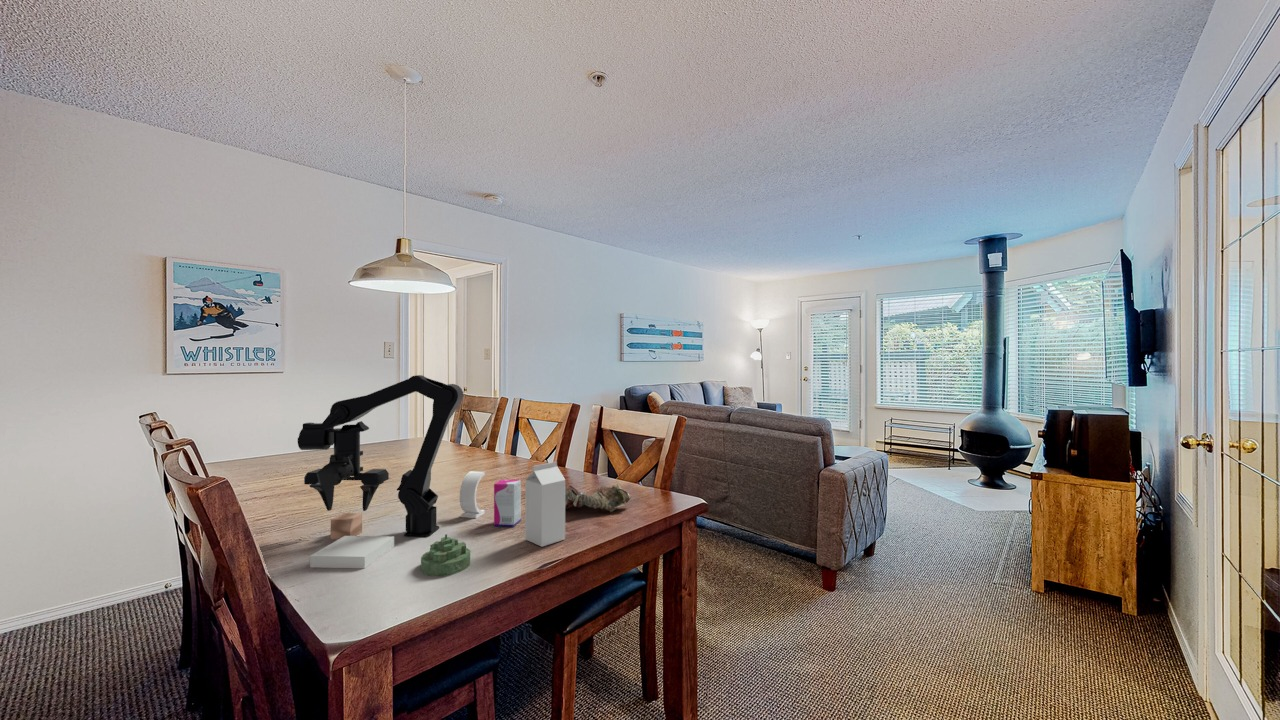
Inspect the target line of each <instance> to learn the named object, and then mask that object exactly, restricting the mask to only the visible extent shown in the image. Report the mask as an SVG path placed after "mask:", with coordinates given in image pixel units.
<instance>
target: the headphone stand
mask: <svg viewBox="0 0 1280 720" xmlns="http://www.w3.org/2000/svg"><path fill="white" fill-rule="evenodd" d="M485 475H486V471H477V470H476V471H475V470H470V471H468V472H467V474H465V476H464V478H463V480H462V482H461V485H460V488H459V489H460V490H459V504H460V508H461V510H462V511H463V513H462V514H461V518H467V519H477V518H479V517H481V516H482V515H484V514H486V510H485V509H480V508H479V506H478V504H477V492H478V491H477V489H478V486H479V483H480V481H481V479H482V478H483V477H484V476H485Z"/></svg>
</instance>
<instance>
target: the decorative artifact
mask: <svg viewBox="0 0 1280 720" xmlns="http://www.w3.org/2000/svg"><path fill="white" fill-rule="evenodd" d="M429 545H430V547H429V550H428V551H427V552H425V553H424V554H422V555H421V557H420V571H421V573H422V574H423V575H426V576H431V577H444V576H451V575H453V574H458V573H460V572H463V571H465V570H466V569H468V568H469V567H470V566H471V550H470V548H468V547H467V544H466V542H464V541H462V542H459V540H458V539H457V538H454V537H448V534H444V537H441V539H440V541H438V540H437V541H435V542H434V543H432V544H429Z"/></svg>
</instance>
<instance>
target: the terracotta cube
mask: <svg viewBox="0 0 1280 720" xmlns="http://www.w3.org/2000/svg"><path fill="white" fill-rule="evenodd" d="M362 533H363V513H361V512H360V513H359V512H358V513H356V512H355V513H353V512H343V513H341V514H339V515H337V516H334V517H333V518H331V519H330V540H338V539H340V538H342V537H344V536H360V534H362Z"/></svg>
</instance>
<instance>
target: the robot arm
mask: <svg viewBox="0 0 1280 720" xmlns="http://www.w3.org/2000/svg"><path fill="white" fill-rule="evenodd" d="M415 392H416V393H419V394H421V395H422V396H425V397H426V398H428V399H431V400H433V402H432V417H431V420H430V423H429V425H428V429H427V431H426V434H425V436H424V440H423V441H422V445H421V447H420V450H419V453H418V456H417V458H416V460H415V463H414V466H413V468H412V469H409V470H408V471H406V472H405V473H404V474H402V476H401V478H400V479H401V481H400V483H399V486H398V487H397V488H396V491H398V492H397V498H398V500H399V502H400V503H401V504H402V505H403V506H404V509H405V511H406V513H407V514H406V515H405V533H403V536H405V537H430V536H431V535H432V534H434V533H435V532H436V531H437V530H438V529H440V526H439V525H437V506H434V505H435V504H436V503H437V500H438V498H439V495H438V494H437V493H435V492H434V491H433V490H432V489H431V488H430V486H431V481H432V478H431V477H432V467H433V465H434V462H435V459H436V456H437V454H438V451H439V450H440V449H439V448H440V446H441V443H442V441H443V438H444V434H445V432H446V430H447V427H448V423H449V422H450V419H451V418H452V416H454V414H455V412H456V410H457V409H458V408H459V406H460V404H461V402H462V400H463V399H464V391H463V389H462V388H461V386H459V385H458V384H454V383H449V384H445V383H443V382H441V381H437V380H434V379H432V378H429V377H426V376H425V375H422V374H418V375H417V374H415V375H412V376H410V377H409V378H407V379H405V380H402V381H399V382H396V383H394V384H392V385H390V386H386V387H384V388H382V389H379V390H377V391H374V392H371V393H369V394H367V395H363V396H358V397H353V398H349V399H343V400H338V401H336V402H334V403H333V404H332V405H331V407H330V411H329V414H328V415H327V417H326V418H325V419H324V421H323V422H322V423H321V422H320V423H318V422H316V423H315V422H305V423H303V424H302V428H301V430H300V431H299V434H298V437H297V446H298V448H299V450H301V451H319V450H321V451H323V450H329V449H330V448H331V446H333V454H330V457H329V462H328V463H326V464H325V465H324V466H323V467H322V468H316V469H314V470H311V471H308V472H307V473H306V474H305V475H304V478H303V484H304V485H309V488H313V489H314V490H316V491H317V492H318V494H319V495H320V497H321V499H322V501H323V504H324V506H325V509H326V510H327V511H331V510H332V509H333V504H334V496H335V495H334V494H335V486H337V485H339V484H341V483H342V481H360V483H362V484H363V485H360V487H359V488H360V489H361V491H362V511H363V512H366V511H367V510H368V508H369V506H370V504H371V502H372V500H373V498H374V495H375V493H376V491H377V489H378V488H379V486H380V485H382V484H384V483H385V482H386V481H388V480H389V479H390V477H389V476H390V475H389V474H390V473H389V472H388V470H387V469H386V468H372V469H370V470H368V471H365V472H363V471H364V466H361V456H363V455H364V450H361V433H362V432H365V431H368V430H370V427H369V426H367V425H366V424H365V423H364V422H363V421H358V420H359V419H361V418H362V417H364V416H366V415H367V414H369V413H370V412H371V411H373V410H374V409H377V408H378V407H381V406H383V405H385V404H386V405H387V404H389V403H390V402H394V401H395V400H398V399H400V398H403V397H406V396H408V395H410V394H413V393H415ZM354 421H357V423H355V424H347V423H351V422H354ZM338 426H342V427H341V428H336V427H338Z"/></svg>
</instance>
